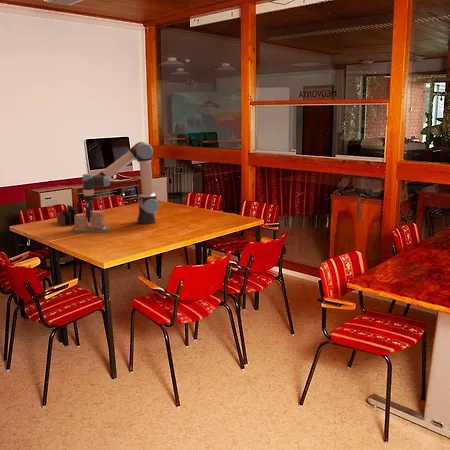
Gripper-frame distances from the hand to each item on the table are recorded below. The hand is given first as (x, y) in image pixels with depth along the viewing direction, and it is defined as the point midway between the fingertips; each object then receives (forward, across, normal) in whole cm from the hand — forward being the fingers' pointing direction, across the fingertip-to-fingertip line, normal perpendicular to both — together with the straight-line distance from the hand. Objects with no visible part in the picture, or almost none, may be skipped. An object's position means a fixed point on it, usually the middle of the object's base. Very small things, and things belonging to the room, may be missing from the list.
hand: (90, 225), depth 371 cm
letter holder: (+4, -25, -24) cm, 35 cm away
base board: (+4, 0, 0) cm, 4 cm away
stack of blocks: (+2, 0, -1) cm, 2 cm away
